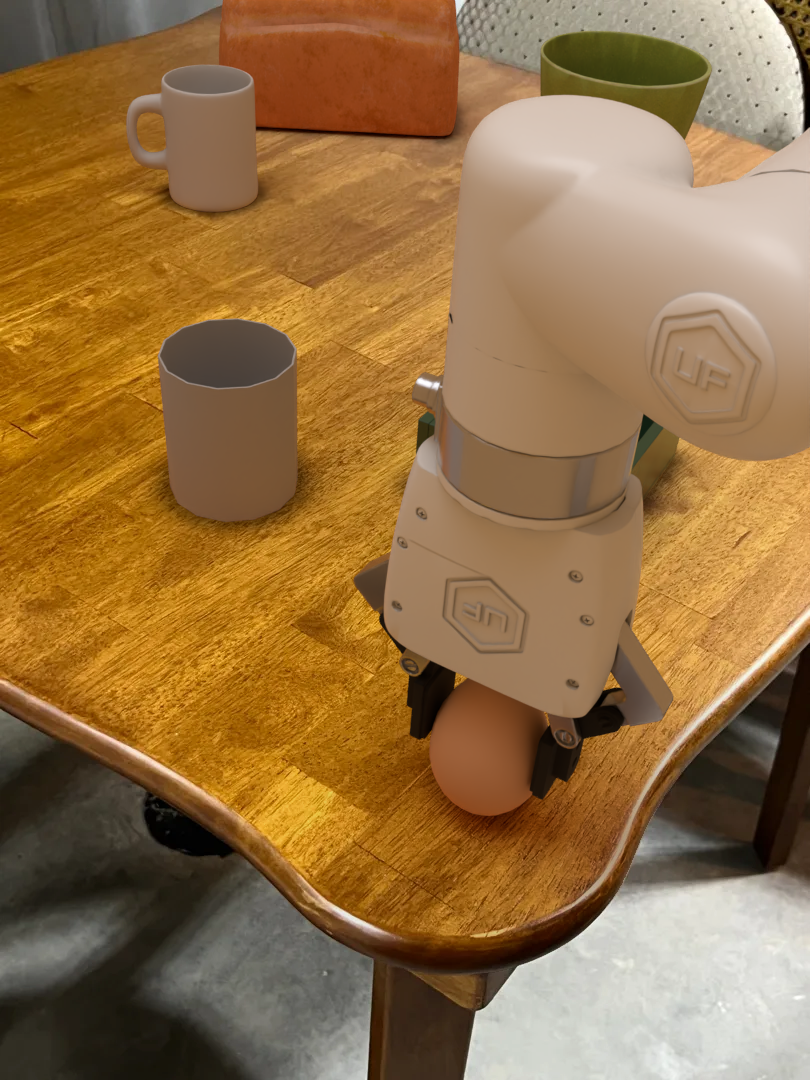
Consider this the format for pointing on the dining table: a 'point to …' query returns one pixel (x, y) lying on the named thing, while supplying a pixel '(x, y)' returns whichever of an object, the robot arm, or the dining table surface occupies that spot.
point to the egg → (485, 748)
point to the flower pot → (627, 72)
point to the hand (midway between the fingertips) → (489, 745)
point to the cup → (230, 418)
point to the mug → (203, 136)
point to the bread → (347, 63)
